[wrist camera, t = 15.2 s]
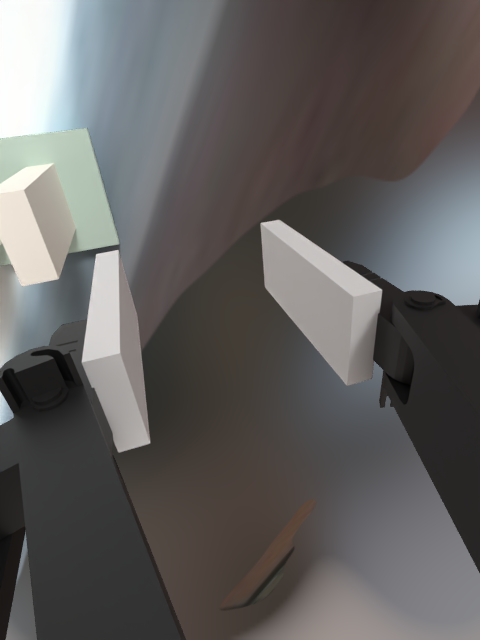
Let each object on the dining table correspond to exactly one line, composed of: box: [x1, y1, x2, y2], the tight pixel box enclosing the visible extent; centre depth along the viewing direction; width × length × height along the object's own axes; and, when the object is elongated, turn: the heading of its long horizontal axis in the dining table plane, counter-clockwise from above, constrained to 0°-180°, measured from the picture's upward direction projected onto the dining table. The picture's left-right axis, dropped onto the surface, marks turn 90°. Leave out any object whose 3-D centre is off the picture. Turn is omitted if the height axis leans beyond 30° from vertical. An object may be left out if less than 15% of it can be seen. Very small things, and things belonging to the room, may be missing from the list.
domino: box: [0, 163, 76, 286], centre depth 24 cm, size 2×5×11 cm, turn 6°
